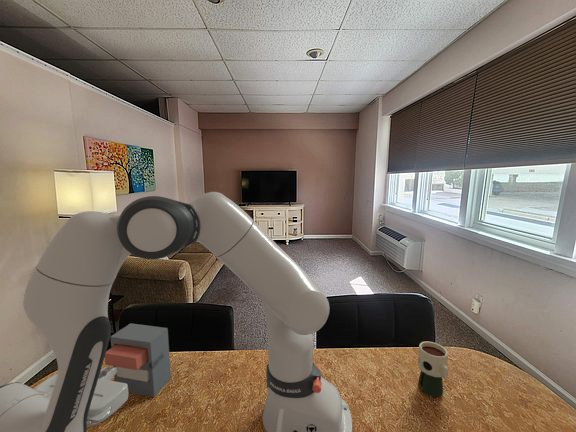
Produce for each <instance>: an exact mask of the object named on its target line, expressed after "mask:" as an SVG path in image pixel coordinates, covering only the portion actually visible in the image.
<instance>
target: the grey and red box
mask: <svg viewBox="0 0 576 432" xmlns="http://www.w3.org/2000/svg"><path fill="white" fill-rule="evenodd" d="M116 344H121V345H127V346H134V347H141V348H147V351H148V361H147V362H145V363H144V364H143V365H142V366H141V367H143V368H149V377H150V380H149V381H148V382H145V381H140V380H134V379H129V378H123V377H118V376H117V373H116V374H115V375H114V376H113V377H114V378H113V379H114V380H113V381H116V382H121V383H126V384H127V385H128V393H129V394H130V393H131V394H135V395H141V396H146V397H152V398H156V396H157V395H158V394H159V393H160V391H161V390H162V389H163V388H164V387H165V386H166V385H167V383H168V382H169V381H170V380H171V378H172V377H171V376H172V375H171V374H172V373H171V363H170V361H171V360H170V344H169V329H168V327H161V326H155V325H154V326H153V325H145V324H139V323H138V324H137V323H129V324H128V325H126V326H125V327H122V328H121V329H119V330H118V331H117V332H115V333H114V334H112V335H110V346H111V348H112V347H113V346H115V345H116ZM111 348H110V349H111ZM112 367H115V368H116V366H112Z"/></svg>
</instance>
